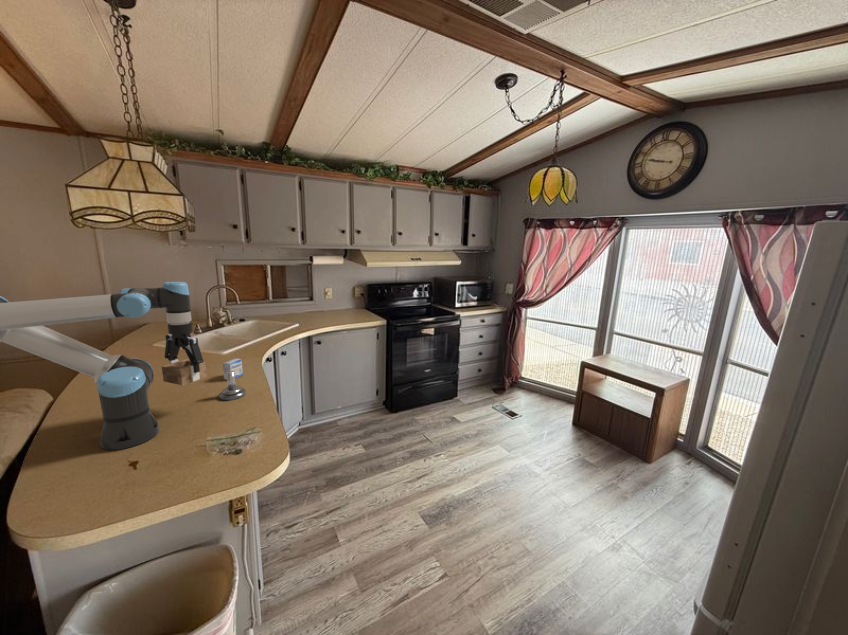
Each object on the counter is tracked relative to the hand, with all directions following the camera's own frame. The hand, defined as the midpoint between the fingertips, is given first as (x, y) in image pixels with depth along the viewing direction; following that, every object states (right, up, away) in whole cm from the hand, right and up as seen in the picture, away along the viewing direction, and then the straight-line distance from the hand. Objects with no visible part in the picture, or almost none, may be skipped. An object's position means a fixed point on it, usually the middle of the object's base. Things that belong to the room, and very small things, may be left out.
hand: (185, 378), depth 130 cm
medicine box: (-2, -7, +37) cm, 37 cm away
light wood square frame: (0, 0, 0) cm, 0 cm away
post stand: (+9, -11, +17) cm, 22 cm away
